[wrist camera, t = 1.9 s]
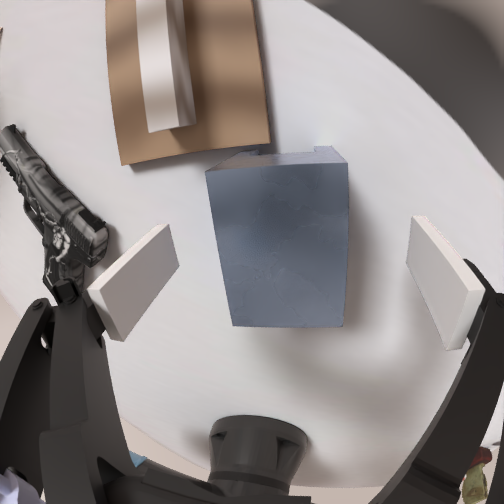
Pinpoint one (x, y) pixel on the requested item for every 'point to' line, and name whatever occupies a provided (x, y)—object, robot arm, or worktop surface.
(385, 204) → the worktop surface
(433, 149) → the worktop surface
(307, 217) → the slate grey block
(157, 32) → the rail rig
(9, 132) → the handgun
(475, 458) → the sculpture
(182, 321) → the worktop surface
